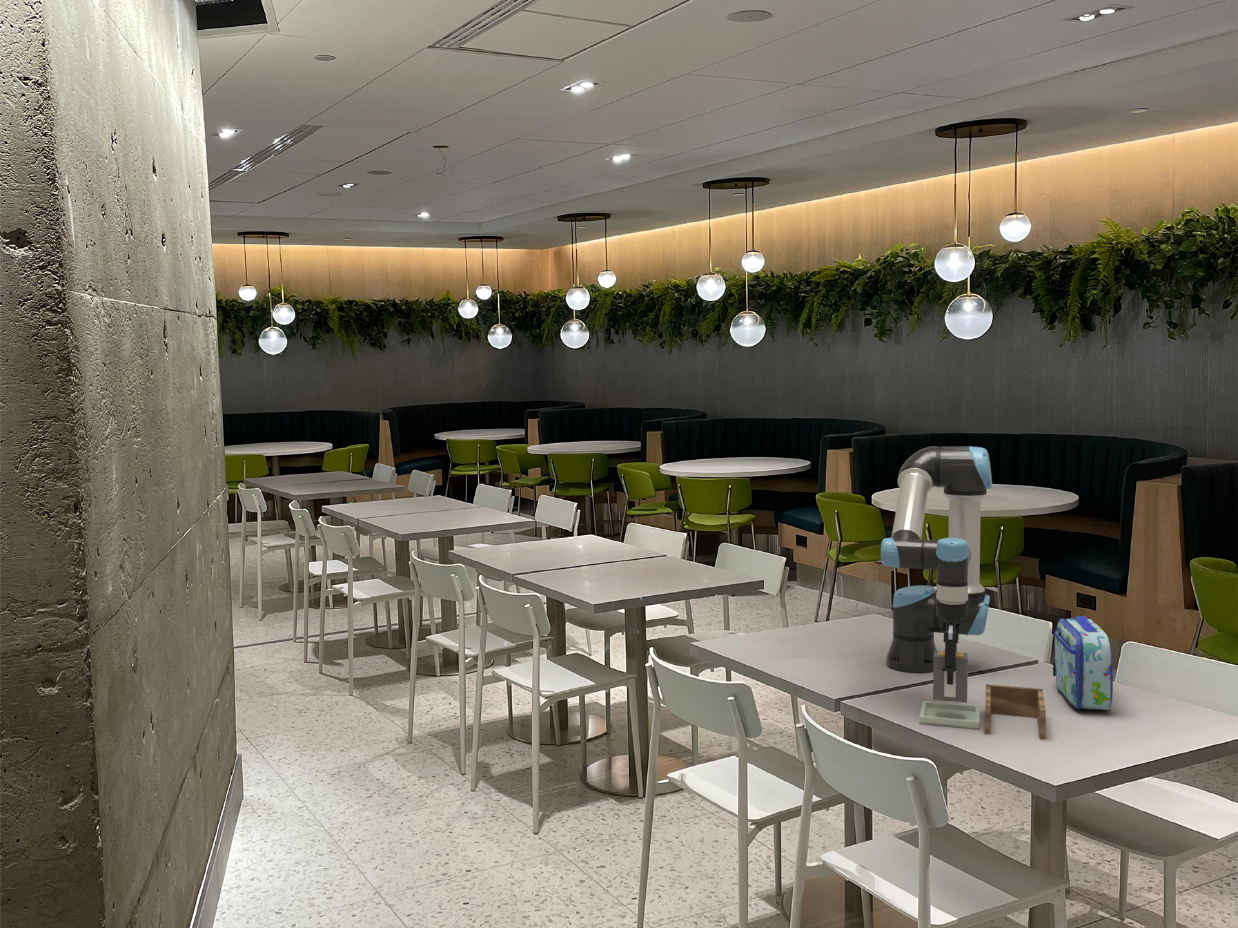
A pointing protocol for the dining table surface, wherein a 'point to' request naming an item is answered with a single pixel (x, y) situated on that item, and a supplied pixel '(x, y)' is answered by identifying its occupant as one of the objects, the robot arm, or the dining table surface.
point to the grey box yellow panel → (960, 677)
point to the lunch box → (1083, 664)
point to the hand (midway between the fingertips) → (950, 692)
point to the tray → (950, 715)
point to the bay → (1015, 704)
